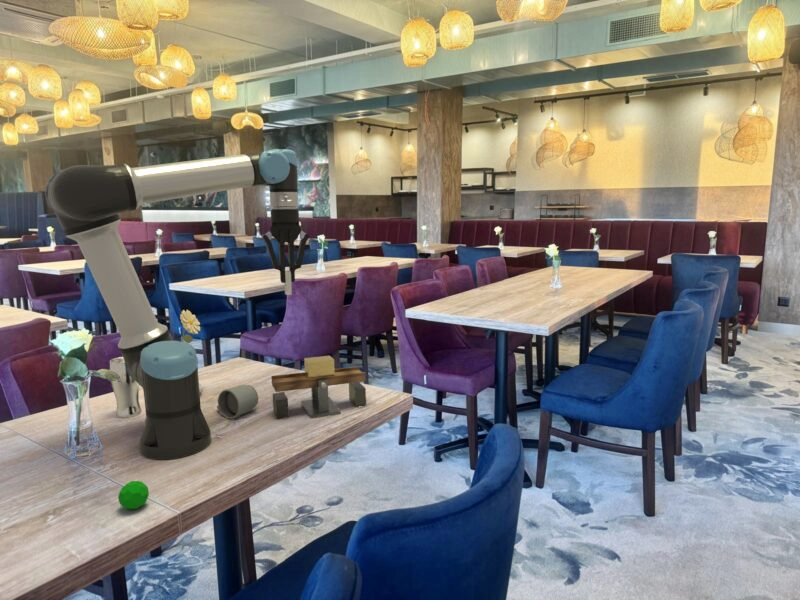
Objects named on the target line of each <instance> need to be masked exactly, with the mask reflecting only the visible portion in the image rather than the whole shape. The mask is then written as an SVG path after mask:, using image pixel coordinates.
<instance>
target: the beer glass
mask: <svg viewBox="0 0 800 600" xmlns="http://www.w3.org/2000/svg"><path fill="white" fill-rule="evenodd" d="M124 362H125V361H124V358H123V356H118V357H115V358H112V359H110V360H109V372H110V371H113V372H115V373H117V374H118V375H119V376H120V379H121V381H122V383H121V382H118V381H111V380H110V382H111V387H112V390H113V394H114V397H115V400H116V401H115V402H116V411H115V412H116V413H115V416H116V417H117V418H121V419H123V418H125V419H126V418H132V417H136V416H138V415H141V413H142V408H141V405H140V401H139V397H140V396H139V395H140V394H139V392H140V385H139V384H138V383H137V382H136V381H135V380H133V379H132V378H131V377H130V375H129V374H128V372H127V370H126V368H125V363H124Z"/></svg>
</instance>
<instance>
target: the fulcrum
mask: <svg viewBox="0 0 800 600" xmlns="http://www.w3.org/2000/svg"><path fill="white" fill-rule="evenodd" d="M361 383H362V382H355V383H348V397H349V398H348V399H349V402H350V403H351V405H352V406H354V408H360V407H359V406H362V407H366V406H367V392H366V391H367V390H366V387H365V386H364V385H363V384H361ZM310 389H311V391H310V392H311V399H304V400H300V404H301V406H302V408H303V409H304V411H305V412H306V414H307V415H308V417H309V419H316V418H322V417H329V415H330V416H336V414H337V415H341V410H340V409H339V407H338V406H337V404H336V403H334V401H333V400H332V398H331V397H330V396H329V386H328V380H327V379H324V380H318V387H314V388H310ZM365 405H366V406H365ZM272 407H273V410H272V411H273V413H274V415H275V418H276V420H282V419H287V418H290V417H289V416H290V415H289V414H290V413H289V412H290V411H289V398H288V396H287V395H286V393H285V391H281V392H273V393H272Z"/></svg>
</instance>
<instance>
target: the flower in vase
mask: <svg viewBox="0 0 800 600" xmlns="http://www.w3.org/2000/svg"><path fill="white" fill-rule="evenodd" d="M179 315H180V317H179V319H180V323H181V324H182V327H183V331H182V336H181V341H180V342H186V343H189V344H190V343H192V342H193V341H194V338H193V336H191V335H198V334H199V332H201V326H200V325H201V323H200V321H199V320H198V318H197V317H196V315H195V314H192V312H191V311H190V310H189V309H186V311H185V309H183V310H182V311H181V314H179ZM186 331H187V333H188V334H185V332H186ZM190 334H191V335H190ZM173 341H176V340H175V339H173ZM199 391H200V393H201V392H202V391H203V386H202V384H201V383H200V382H199Z"/></svg>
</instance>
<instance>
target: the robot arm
mask: <svg viewBox="0 0 800 600" xmlns="http://www.w3.org/2000/svg"><path fill="white" fill-rule="evenodd" d="M297 160H298V159H297V153H296V152H295V151H294V150H292V149H286V148H285V149H284V148H283V149H279V148H274V149H268V150H264V151H259V152H251V153H250V152H249V153H244V154H243V153H242V154H235V155H234V154H233V155H226V156H219V157H210V158H203V159H194V160H187V161H178V162H169V163H160V164H155V165H154V164H153V165H146V166H137V167H130V166H129V165H128V164H126V163H120V164H111V165H110V164H108V165H106V164H105V165H104V164H103V165H99V164H98V165H93V164H92V165H91V164H89V165H88V164H76V165H72V166H69V167H66V168H65V169H61V170H58V171H57V172H55V173H54V174H53V175H52V176H51V178H49V180H48V182H47V184H46V186H45V200H46V202H47V203H46V204H47V205H48V207H49V209H50V210H51V211H52V213H54V214H55V216H56V218H57V220H58V222H59V224H60V226H61V228H62V231H63V232H64V233H63V234H65V235H64V236H65V237H66V238H69V239H70V240H73V241H75V242H77V245H78V247H79V248H80V251H81V253H82V256H83V257H84V260H85V262H86V265H87V267H88V268H89V270H90V272H91V275H92V278H93V279H94V282H95V283H96V286H97V287H98V290H99V292H100V294H101V297H102V299H103V300H104V303H105V305H106V307H107V309H108V311H109V313H110V315H111V318H112V319H113V322H114V324H115V326H116V328H117V330H118V333H119V335H120V339H119V341H118V344H117V347H118V350H119V352H120V354H121V357H123V358H124V361H125V362H124V363H125V368H126V370H127V372H128V374H129V375H130V377H131V378H132V379H133V380H135V381H136V382H137V383H138V384H139V387H141V389H143V397H144V399H143V400H144V408H145V409H144V410H145V421H144V424H143V428H142V432H141V436H140V440H139V446H140V448H139V449H140V453H141V455H142V456H143V457H146V458H148V459H154V460H172V459H178V458H183V457H187V456H191V455H194V454H196V453H199V452H200V451H203V450H204V449H206V448H207V447H208V446H209V445H210V444H211V442H212V434H211V433H212V432H211V428H210V426H209V424H208V422H207V419H206V418H205V415H204V413H203V411H202V406H201V395H200V393H201V392H200V391H199V383H200V381H199V368H198V366H199V359H198V355H197V351H196V348H195V347H194V346H193V345H192V344H190V343H187V342H185V341H182V342H181V341H179V340H175V341H173V340H174V339H173V338H172V336H171V332H170V330H169V329H168V326H167V325H165V324H161V323H160V322H158V320H157V317H156V315H155V313H154V311H153V307H152V306H151V304H150V301H149V299H148V297H147V294H146V291H145V290H144V288H143V285H142V283H141V280H140V278H139V276H138V274H137V272H136V270H135V268H134V265H133V263H132V260H131V258H130V256H129V254H128V251H127V249H126V247H125V244H124V242H123V240H122V237H121V235H120V233H119V230H118V227H119V225H120V223H121V221H122V220H121V217H120V215H119V214H122V213H126V212H131V211H138V209H139V208H140V206H141V205H144V204H149V203H150V204H152V203H156V202H163V201H168V200H177V199H183V198H187V197H188V198H189V197H193V196H194V197H195V196H200V195H206V194H212V193H217V192H224V191H225V192H226V191H231V190H236V189H243V188H249V187H256V186H258V187H259V186H261V187H262V186H263V187H268V188H269V205H270V207H271V208H272V209H271V210H270V222H271V223H270V227H269V231H267V232H266V233H265V234H262V235H261V239H262V240H263V241H264V242H265V245H266V247H267V251H268V255H269V259H270V261H271V264H272V267H273V269H274V270H278V271H279V277H280V282H281V283H282V284H284V294H285V295H286V296H291V295H292V293H293V291H292V290H293V289H292V283H295V281H296V273H295V272H296V271H297V270H298V269H301V267H302V264H303V260H304V254H305V250H306V244H307V242H308V241H309V238H310V233H306V232H305V231H303V230H302V227H301V225H300V210H299V209H297V208H298V207H299V190H298V189H299V188H298V187H299V186H298V161H297ZM272 237H273V238H274V239H275V240H276V242H278V243H277V244H278V260H279V264H278V260H277V257H276V254H275V251H274V246H273V244H272V241H271V240H272ZM298 237H299V239H300V240H299V244H298V245H299V247H298V251H297V255H296V261H295V241H296V240H297V238H298ZM285 243H287V249H288V254H287V255H288V268H289V269H288V270H286V256H285V255H286V254H285V252H286V251H285Z"/></svg>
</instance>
